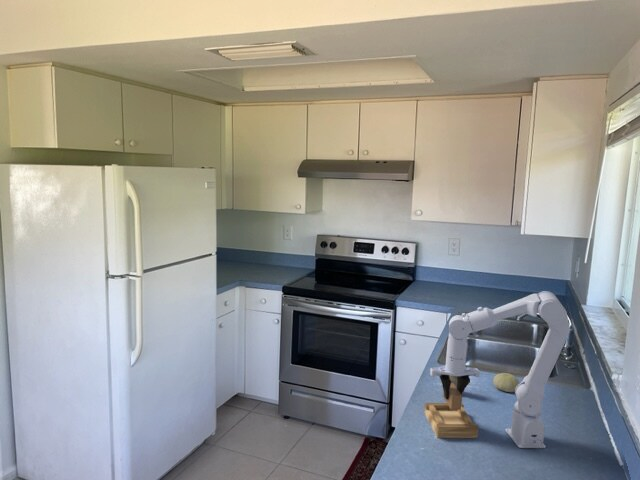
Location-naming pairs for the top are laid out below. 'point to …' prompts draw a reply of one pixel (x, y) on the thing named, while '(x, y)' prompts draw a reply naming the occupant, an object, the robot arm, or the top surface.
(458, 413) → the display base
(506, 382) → the sea urchin shell
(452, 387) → the tan wooden post
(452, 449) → the top surface
